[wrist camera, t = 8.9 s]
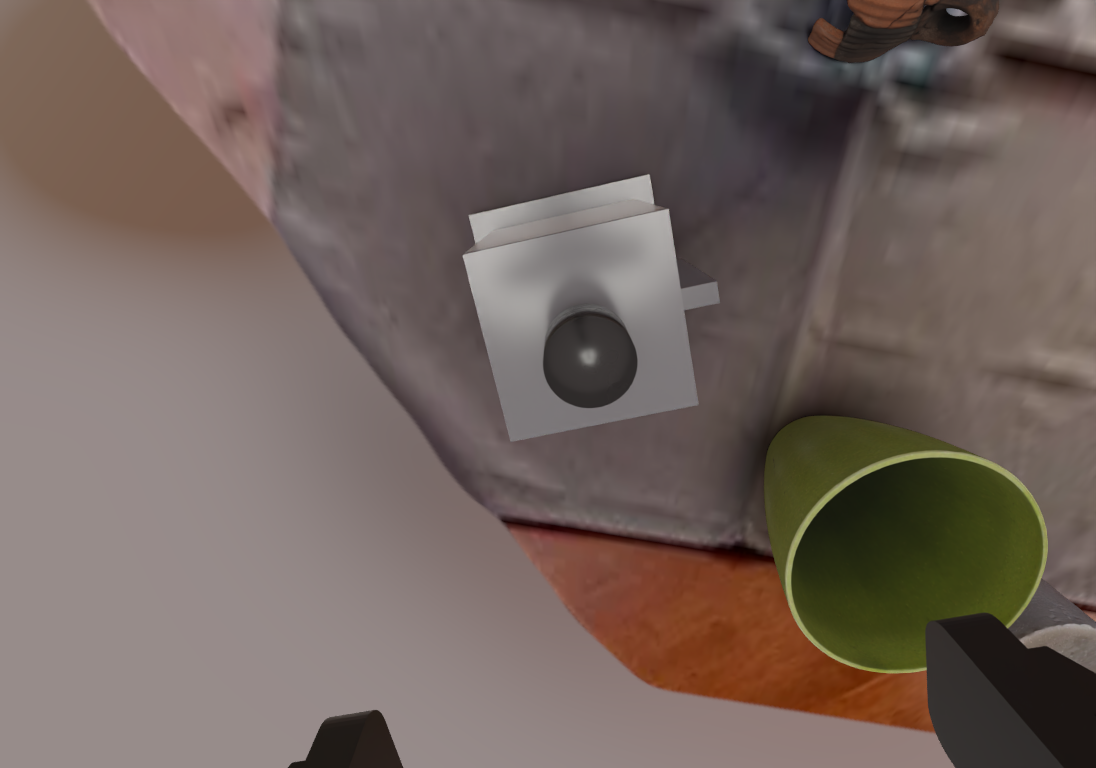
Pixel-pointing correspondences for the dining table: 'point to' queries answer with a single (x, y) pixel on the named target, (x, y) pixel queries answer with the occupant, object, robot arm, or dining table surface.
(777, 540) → the flower pot
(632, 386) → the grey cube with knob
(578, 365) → the plunger
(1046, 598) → the pillar candle
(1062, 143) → the dining table surface
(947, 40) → the pottery mug
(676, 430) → the dining table surface
